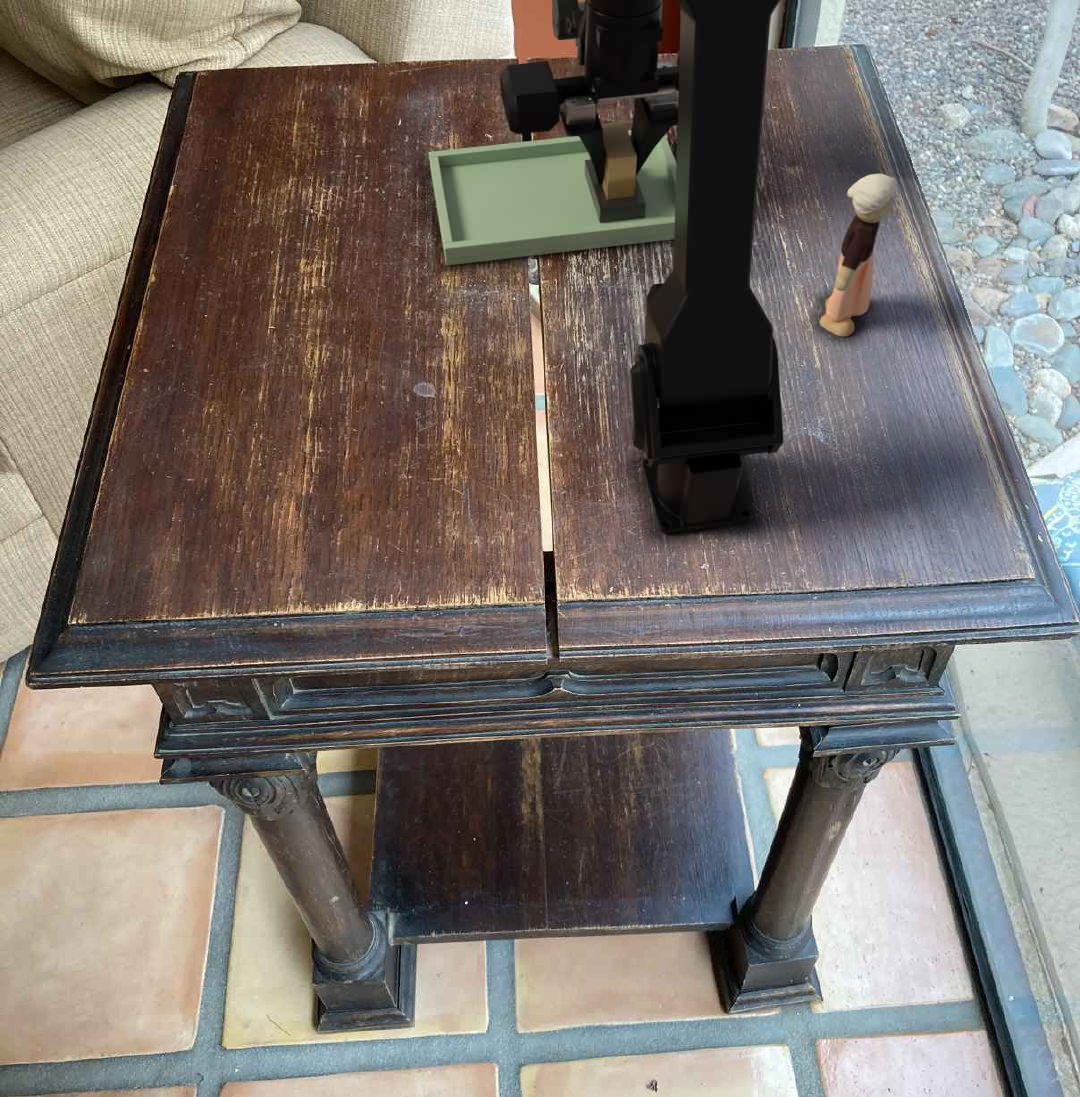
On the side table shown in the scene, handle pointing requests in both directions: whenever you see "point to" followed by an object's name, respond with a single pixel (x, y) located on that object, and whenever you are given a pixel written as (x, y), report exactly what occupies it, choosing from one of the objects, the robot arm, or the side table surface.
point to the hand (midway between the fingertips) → (615, 179)
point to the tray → (539, 200)
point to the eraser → (616, 178)
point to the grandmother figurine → (858, 253)
